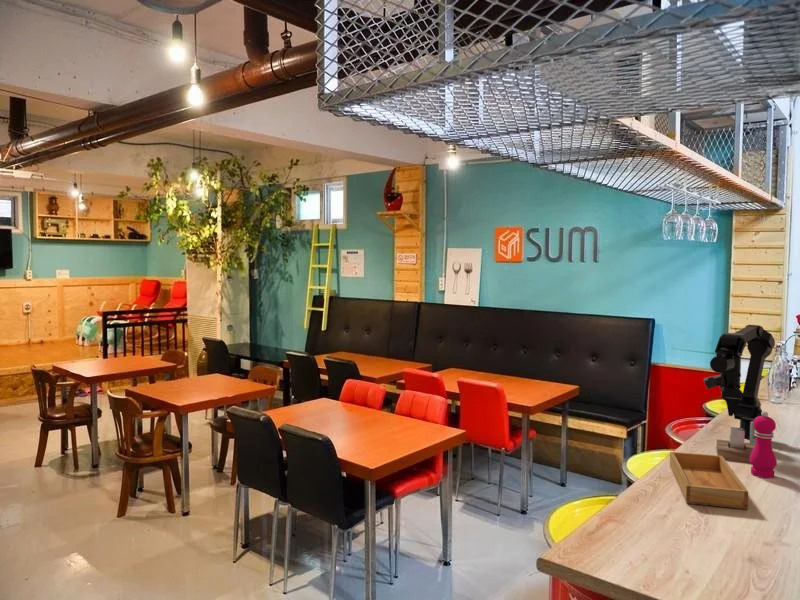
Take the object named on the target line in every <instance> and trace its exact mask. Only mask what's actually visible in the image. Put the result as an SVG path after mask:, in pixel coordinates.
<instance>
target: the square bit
mask: <svg viewBox="0 0 800 600" xmlns="http://www.w3.org/2000/svg"><path fill="white" fill-rule="evenodd" d="M729 431H730V436H729V441H730V448H735V449H743V450H744V442H745V438H744V437H745V431H744V428H740V427H733V426H730V430H729Z"/></svg>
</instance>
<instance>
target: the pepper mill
mask: <svg viewBox="0 0 800 600" xmlns="http://www.w3.org/2000/svg"><path fill="white" fill-rule="evenodd" d="M761 415H762V416H758V417H756V418H755V419H754V421H753V426H754V428H755V429H756V430H755V434H754V435H755V436H756V444H755V447H754V449H753V450H752V452H751V454H750V459H749V461H750V462H749V463H750V464H751V467H750V474H751V475H753V476H755V477H757V478H761V479H773V478H775V474H776V473H775V470H774V469H775V468H776V467H777V465H778V464H777V463H778V462H777V457H776V454H775V452H774V450H773V445H772V439H773V438H774V431H775V430H776V429H777V428H776V427H777V425H776V421H775V420H774V419H773V417H770V416H769V414H768V411H765V410H764V411H763V410H762V413H761Z"/></svg>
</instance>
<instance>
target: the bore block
mask: <svg viewBox="0 0 800 600" xmlns="http://www.w3.org/2000/svg"><path fill="white" fill-rule="evenodd" d="M754 447H755V444H754V443H750V442H745V441H744V450H743V449H735V448H730V440H727V439H719V438H717V439H716V455H719V456H723V458H724V459H725V460H729V461H739V462H746V463H750V461H749V459H750V454H751V452H752V450H753V449H754Z"/></svg>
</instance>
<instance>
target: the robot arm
mask: <svg viewBox="0 0 800 600" xmlns="http://www.w3.org/2000/svg"><path fill="white" fill-rule="evenodd" d="M775 344H776V341H775V339H774V337H773V334H772V333H770V332H769V331H768V330H765V329H764V328H763V326H761V325H759V324H756V325H755V324H747V325H745V327H743V328H741V329H739V330H737V331H735V332H725V333H722V334H721V335H720V336H719V338H718V341H717V343H716V346H715V350H714V353H715V356H714V357H712V358H711V360H710V362H709V366H710V368H711V370H712V371H714V372H715V373H716V374H717V375H712V376H708V377H704V378H703V382H704V385H705V387H706V389H707V390H709V389H712V388H715V387H716V388H717V387H719V390H720V393H721V395H720V396H721V399H723V400H724V401H725V402H726V408H727V415H728V416H729V417H734V418H733V419H734V420H739V428H744V431H745V437H744V439H750V421H754V419H755V418H756V417H758V416H762V415H761V413H762V412H763V410H762V407H761V406H762V403H761V402H760V400H759V396H758V394H759V389H760V385H761V381H762V375H763V372H764V371H763V370H764V365H765V362H766V361H765V360H766V359H767V358H769V356H770V355H771V354H772V351H773V349H774V347H775ZM746 347H747V350H748V352H749V354H750V357H749V361H748V367H747V372H746V377H745V382H744V386H743V391H742V390H741V377H742V373H741V371H742V369H741V368H742V365H741V364H742V356H743V352H744V350H745V348H746Z"/></svg>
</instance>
